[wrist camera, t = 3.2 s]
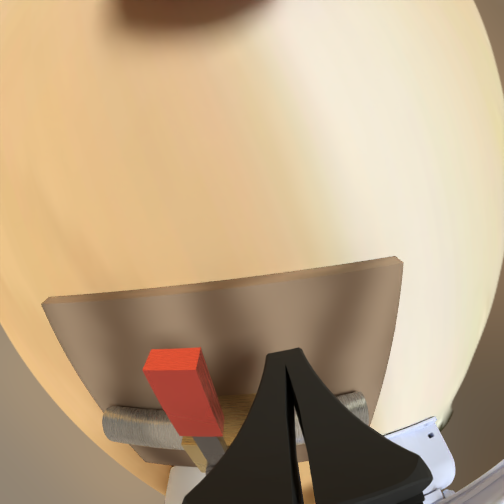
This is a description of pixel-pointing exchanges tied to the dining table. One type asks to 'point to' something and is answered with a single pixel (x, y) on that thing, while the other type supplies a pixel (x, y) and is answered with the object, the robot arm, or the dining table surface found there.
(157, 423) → the valve pipe
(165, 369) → the valve lever
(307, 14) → the dining table surface
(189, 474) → the can
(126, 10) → the dining table surface
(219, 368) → the base board
